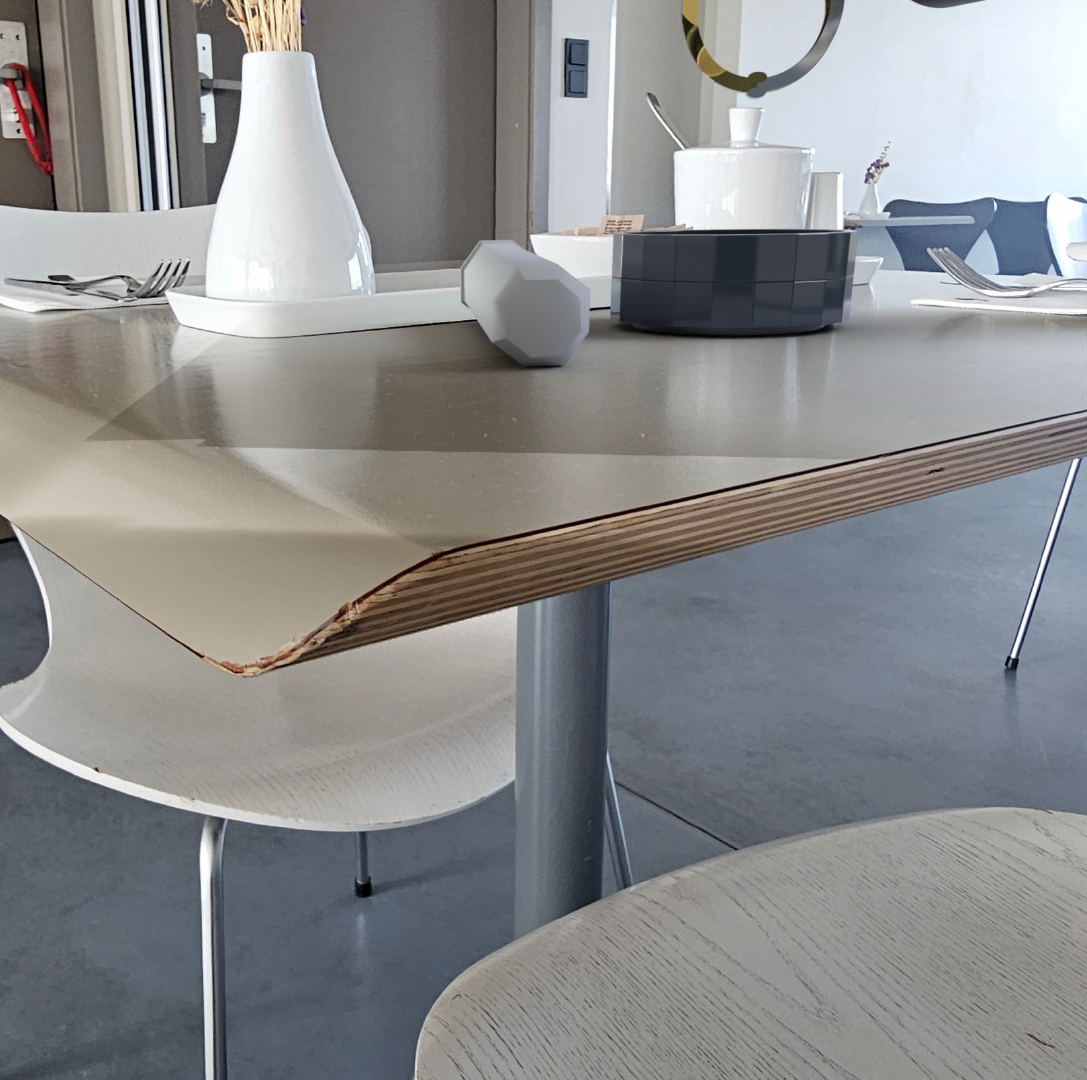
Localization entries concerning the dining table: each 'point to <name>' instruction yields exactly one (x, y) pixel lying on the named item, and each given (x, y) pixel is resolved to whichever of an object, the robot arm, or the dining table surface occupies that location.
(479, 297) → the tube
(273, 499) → the dining table surface
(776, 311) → the bowl
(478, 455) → the dining table surface
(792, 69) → the ring
